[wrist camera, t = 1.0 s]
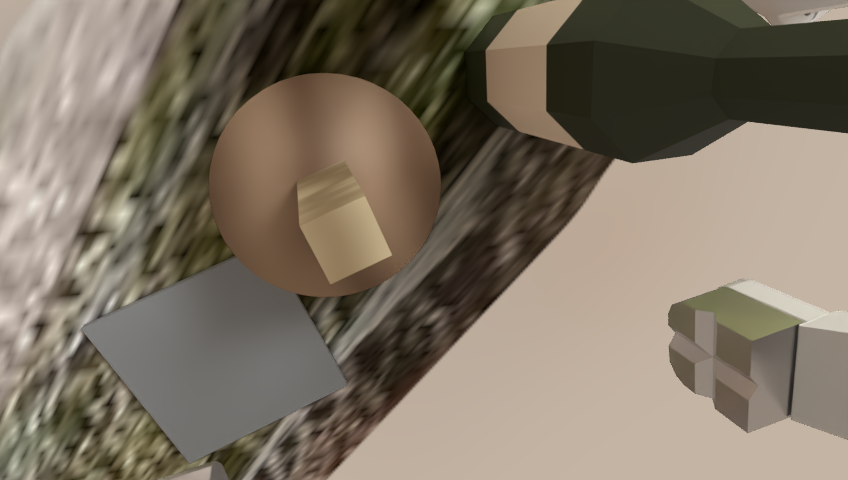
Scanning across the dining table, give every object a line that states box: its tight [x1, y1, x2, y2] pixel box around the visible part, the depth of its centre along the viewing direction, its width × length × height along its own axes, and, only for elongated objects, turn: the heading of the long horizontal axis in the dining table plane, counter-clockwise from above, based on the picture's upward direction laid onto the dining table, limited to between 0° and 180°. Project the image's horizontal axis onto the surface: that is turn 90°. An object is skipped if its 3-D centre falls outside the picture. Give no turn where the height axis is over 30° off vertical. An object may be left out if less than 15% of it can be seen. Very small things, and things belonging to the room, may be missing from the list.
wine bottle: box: [465, 0, 848, 163], centre depth 24 cm, size 8×8×30 cm
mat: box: [81, 256, 347, 464], centre depth 39 cm, size 14×14×1 cm
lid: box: [209, 73, 441, 297], centre depth 26 cm, size 14×14×10 cm
